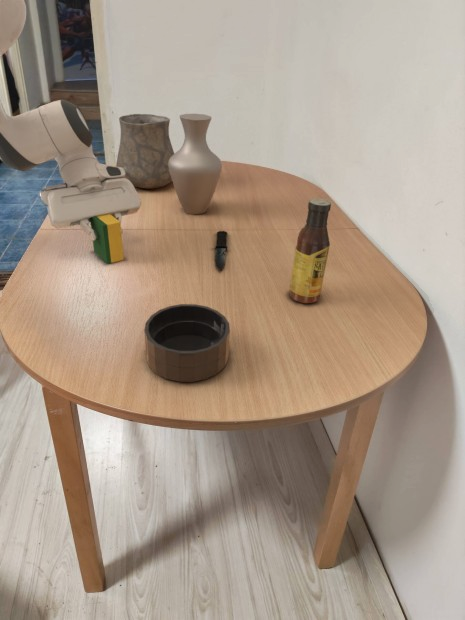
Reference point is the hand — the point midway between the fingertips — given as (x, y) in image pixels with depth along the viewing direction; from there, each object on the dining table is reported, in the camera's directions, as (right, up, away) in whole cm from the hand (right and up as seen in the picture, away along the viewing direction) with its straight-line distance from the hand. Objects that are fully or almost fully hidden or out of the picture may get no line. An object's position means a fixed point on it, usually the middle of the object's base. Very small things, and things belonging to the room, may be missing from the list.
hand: (108, 236), depth 100 cm
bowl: (+20, -24, -25) cm, 40 cm away
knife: (+25, -3, +7) cm, 26 cm away
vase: (+17, +12, +30) cm, 36 cm away
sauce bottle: (+42, -14, -8) cm, 45 cm away
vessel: (0, +24, +47) cm, 53 cm away
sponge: (-1, -4, +3) cm, 5 cm away
